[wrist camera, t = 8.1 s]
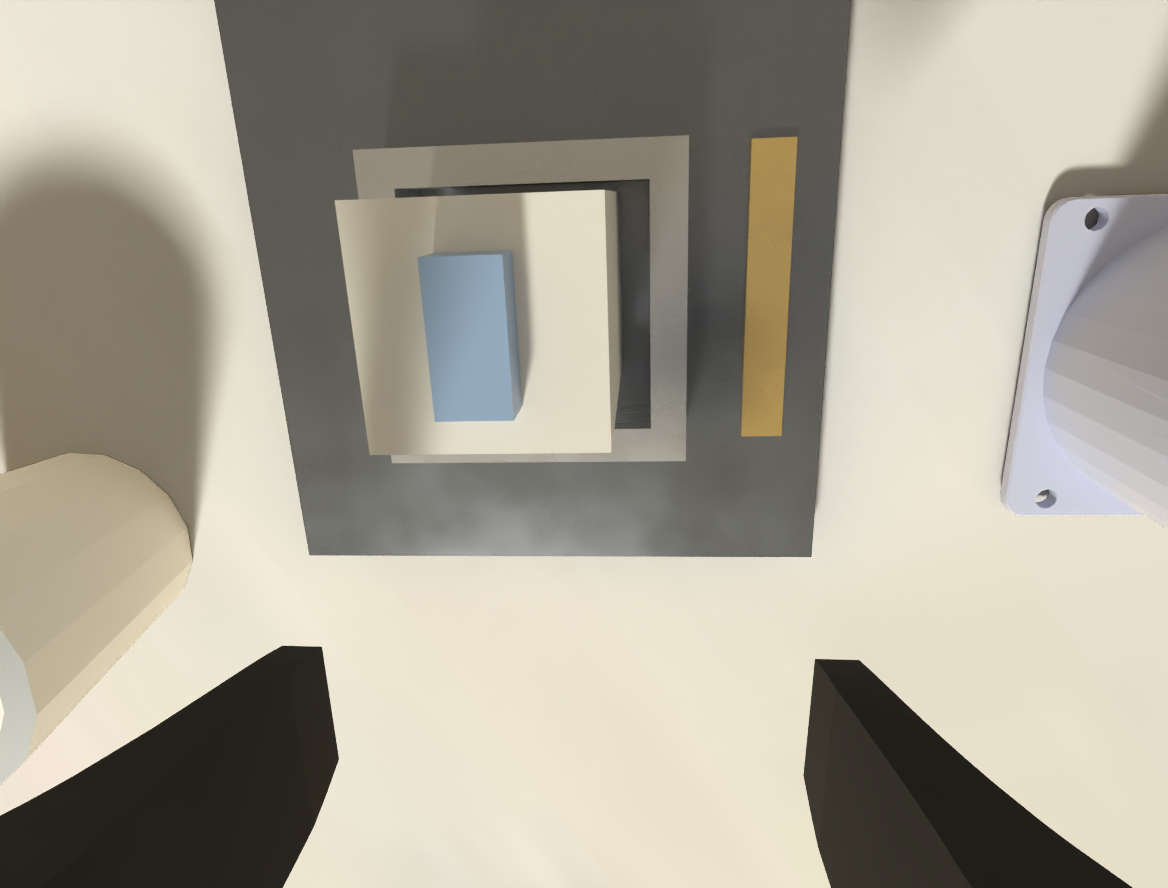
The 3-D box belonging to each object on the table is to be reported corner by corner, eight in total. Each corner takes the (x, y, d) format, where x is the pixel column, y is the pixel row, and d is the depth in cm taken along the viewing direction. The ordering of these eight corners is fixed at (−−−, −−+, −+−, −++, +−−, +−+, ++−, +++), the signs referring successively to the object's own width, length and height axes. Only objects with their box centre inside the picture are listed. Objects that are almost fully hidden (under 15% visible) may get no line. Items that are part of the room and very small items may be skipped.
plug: (619, 192, 17) (601, 188, 10) (622, 360, 18) (609, 470, 11) (451, 198, 17) (311, 200, 10) (465, 363, 19) (351, 472, 11)
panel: (897, -851, 12) (972, -1163, 10) (803, 540, 21) (829, 595, 18) (115, -734, 14) (-24, -982, 11) (323, 539, 22) (276, 590, 19)
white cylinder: (-43, 448, 22) (-341, 557, 15) (168, 416, 21) (-52, 518, 14) (46, 645, 24) (-183, 816, 17) (241, 624, 23) (79, 795, 16)
